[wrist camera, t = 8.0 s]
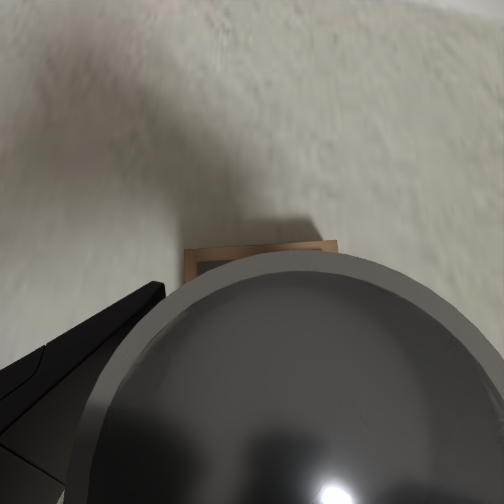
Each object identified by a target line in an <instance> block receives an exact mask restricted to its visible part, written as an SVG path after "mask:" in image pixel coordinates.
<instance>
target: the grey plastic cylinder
mask: <svg viewBox="0 0 504 504" xmlns="http://www.w3.org/2000/svg"><path fill="white" fill-rule="evenodd" d="M63 504H504V360H503V358H502V357H501V355H500V354H499V353H498V351H497V350H496V349H495V348H494V347H493V346H492V344H491V343H490V342H489V341H488V340H487V339H486V338H485V336H484V335H483V334H482V333H481V332H480V331H479V329H478V328H477V327H476V326H474V325H473V324H472V323H471V322H470V321H469V320H468V319H467V318H466V317H465V316H464V315H463V314H461V313H460V312H459V311H458V310H457V309H456V308H455V307H454V306H452V305H451V304H450V303H448V302H447V301H446V300H444V299H443V298H441V297H440V296H439V295H437V294H436V293H435V292H433V291H432V290H430V289H429V288H427V287H426V286H424V285H422V284H420V283H419V282H417V281H415V280H413V279H411V278H410V277H408V276H406V275H404V274H402V273H400V272H398V271H395V270H393V269H390V268H388V267H386V266H383V265H381V264H378V263H376V262H373V261H369V260H365V259H362V258H358V257H354V256H351V255H347V254H340V253H333V252H326V251H319V250H287V251H278V252H270V253H262V254H258V255H254V256H250V257H246V258H242V259H238V260H234V261H232V262H229V263H227V264H224V265H222V266H219V267H217V268H214V269H212V270H209V271H207V272H205V273H204V274H202V275H200V276H198V277H196V278H195V279H193V280H191V281H189V282H187V283H186V284H184V285H182V286H181V287H180V288H178V289H177V290H176V291H174V292H173V293H171V294H170V295H169V296H167V297H166V298H165V299H163V300H162V301H161V302H159V303H158V304H157V305H156V306H155V307H154V308H153V309H152V310H151V311H150V312H149V313H148V314H147V315H146V316H144V317H143V318H142V319H141V320H140V321H139V322H138V323H137V324H136V326H135V327H134V328H133V329H132V330H131V332H130V333H129V334H128V335H127V337H126V338H125V339H124V340H123V341H122V343H121V344H120V345H119V346H118V348H117V349H116V351H115V352H114V354H113V355H112V357H111V358H110V360H109V362H108V363H107V365H106V366H105V368H104V369H103V371H102V372H101V374H100V376H99V378H98V380H97V382H96V384H95V386H94V389H93V391H92V393H91V395H90V397H89V399H88V401H87V403H86V406H85V408H84V411H83V414H82V417H81V420H80V423H79V425H78V428H77V431H76V434H75V437H74V442H73V446H72V451H71V455H70V459H69V464H68V468H67V475H66V484H65V493H64V501H63Z"/></svg>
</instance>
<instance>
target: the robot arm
mask: <svg viewBox="0 0 504 504" xmlns="http://www.w3.org/2000/svg"><path fill="white" fill-rule="evenodd" d="M165 298H166V293H165V285H164V283H162V282H157V281H151V282H149V283H148V284H146V285H144V286H143V287H141V288H139V289H138V290H136V291H134V292H133V293H131V294H129V295H128V296H126V297H124V298H122V299H121V300H119V301H117V302H116V303H114V304H112V305H111V306H109V307H107V308H106V309H104V310H102V311H101V312H99V313H97V314H96V315H94V316H92V317H90V318H89V319H87V320H85V321H84V322H82V323H80V324H79V325H77V326H75V327H74V328H72V329H70V330H69V331H67V332H65V333H63V334H62V335H60V336H58V337H57V338H55V339H53V340H52V341H50V342H48V343H47V344H46V346H45V345H43V346H41V347H40V348H38V349H36V350H35V351H33V352H31V353H30V354H28V355H26V356H24V357H23V358H21V359H19V360H17V361H16V362H14V363H12V364H10V365H9V366H7V367H5V368H3V369H1V370H0V504H56V503H57V501H58V500H59V498H60V496H61V494H62V493H63V491H64V489H65V484H66V475H67V468H68V464H69V459H70V455H71V451H72V446H73V442H74V437H75V434H76V431H77V428H78V425H79V423H80V420H81V417H82V414H83V411H84V408H85V406H86V403H87V401H88V399H89V397H90V395H91V393H92V391H93V389H94V386H95V384H96V382H97V380H98V378H99V376H100V374H101V372H102V371H103V369H104V368H105V366H106V365H107V363H108V362H109V360H110V358H111V357H112V355H113V354H114V352H115V351H116V349H117V348H118V346H119V345H120V344H121V343H122V341H123V340H124V339H125V338H126V337H127V335H128V334H129V333H130V332H131V330H132V329H133V328H134V327H135V326H136V324H137V323H138V322H139V321H140V320H141V319H142V318H143V317H144V316H146V315H147V314H148V313H149V312H150V311H151V310H152V309H153V308H154V307H155V306H156V305H157V304H158V303H159V302H161V301H162V300H163V299H165Z"/></svg>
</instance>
